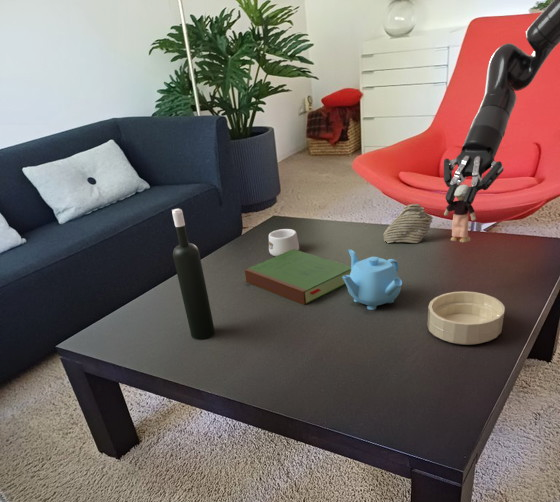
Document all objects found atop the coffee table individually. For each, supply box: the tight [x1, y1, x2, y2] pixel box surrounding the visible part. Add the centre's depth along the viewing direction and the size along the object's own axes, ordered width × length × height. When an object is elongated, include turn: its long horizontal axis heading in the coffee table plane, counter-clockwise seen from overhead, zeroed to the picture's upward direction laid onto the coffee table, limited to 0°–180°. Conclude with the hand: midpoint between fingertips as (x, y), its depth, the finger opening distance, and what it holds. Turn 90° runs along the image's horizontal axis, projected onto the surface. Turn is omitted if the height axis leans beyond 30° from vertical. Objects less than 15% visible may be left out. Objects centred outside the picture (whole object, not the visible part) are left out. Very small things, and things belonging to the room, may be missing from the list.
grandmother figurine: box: [443, 184, 477, 243], centre depth 120 cm, size 8×4×13 cm, turn 58°
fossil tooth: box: [383, 203, 434, 244], centre depth 160 cm, size 12×6×15 cm
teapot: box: [342, 248, 403, 311], centre depth 128 cm, size 15×14×11 cm
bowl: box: [427, 290, 506, 346], centre depth 114 cm, size 15×15×6 cm
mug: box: [268, 228, 300, 257], centre depth 166 cm, size 12×10×6 cm
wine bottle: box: [171, 207, 216, 340], centre depth 118 cm, size 6×6×30 cm
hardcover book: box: [244, 249, 351, 306], centre depth 145 cm, size 25×19×4 cm
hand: (457, 203), depth 117 cm, fingers closed on grandmother figurine, 3 cm apart
